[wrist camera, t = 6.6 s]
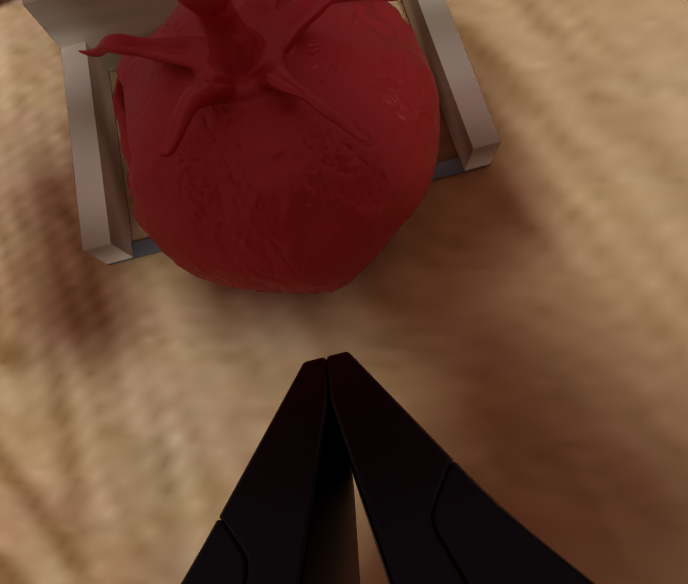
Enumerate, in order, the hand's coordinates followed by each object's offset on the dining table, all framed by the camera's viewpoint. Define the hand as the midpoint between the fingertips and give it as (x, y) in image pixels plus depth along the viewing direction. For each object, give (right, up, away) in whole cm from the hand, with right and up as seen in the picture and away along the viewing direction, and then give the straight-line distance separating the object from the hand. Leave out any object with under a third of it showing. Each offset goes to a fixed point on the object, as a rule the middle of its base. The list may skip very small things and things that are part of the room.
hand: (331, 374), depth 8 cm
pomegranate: (-2, +5, +9) cm, 11 cm away
